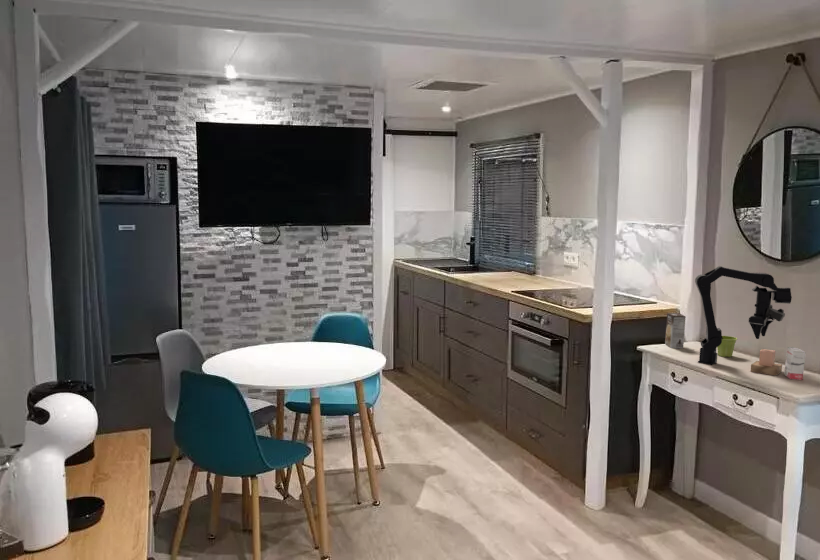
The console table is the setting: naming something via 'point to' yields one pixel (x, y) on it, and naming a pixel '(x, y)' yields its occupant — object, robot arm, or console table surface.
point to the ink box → (794, 363)
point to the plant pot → (726, 346)
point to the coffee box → (675, 330)
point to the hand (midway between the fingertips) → (760, 337)
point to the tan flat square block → (766, 368)
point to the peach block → (767, 357)
